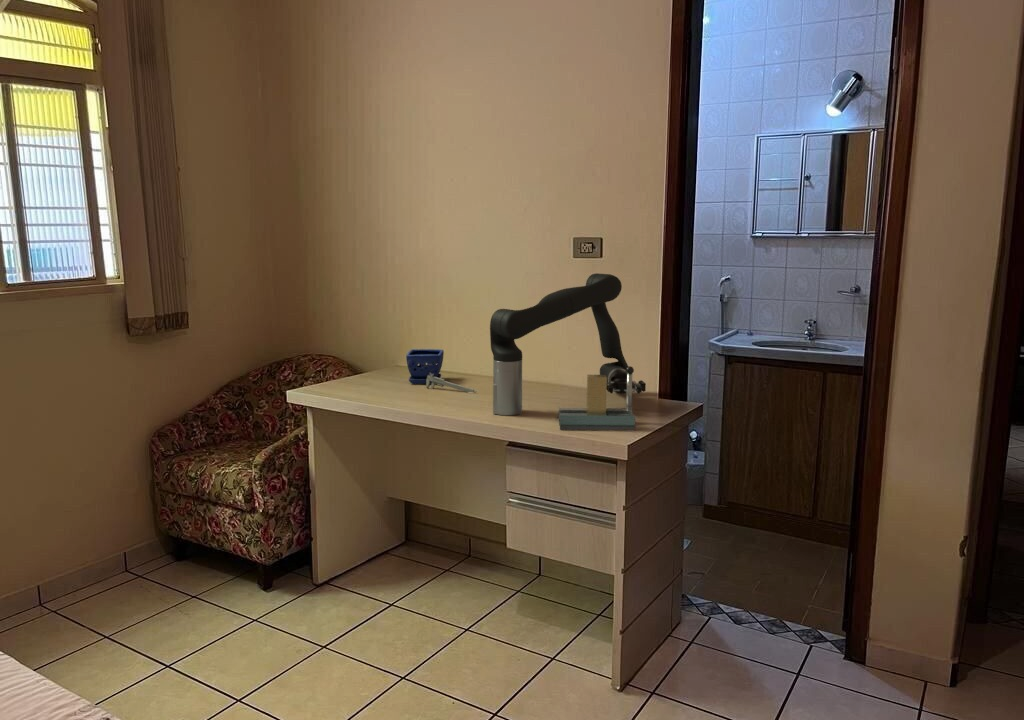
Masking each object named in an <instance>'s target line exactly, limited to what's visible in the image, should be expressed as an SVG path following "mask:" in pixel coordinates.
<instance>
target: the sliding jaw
mask: <svg viewBox="0 0 1024 720" xmlns="http://www.w3.org/2000/svg"><path fill="white" fill-rule="evenodd" d="M626 372H627V393H626V400H625V408H622V407H621V408H619V407H618V408H617V407H616V408H613V407H611V408H607V407H606V413H607V414H633V410H632V405H633V403H632V402H633V400H632V399H633V398H632V397H633V392H632V381H633V373H634V372H635V370H634V367H633V366H631V365H630V366H629V365H628V367H627V368H626ZM586 410H587V407H558V414H559V419H560V413H586Z"/></svg>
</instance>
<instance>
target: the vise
mask: <svg viewBox="0 0 1024 720" xmlns="http://www.w3.org/2000/svg"><path fill="white" fill-rule="evenodd" d="M557 419H559V413H557ZM635 425H636V415H635V413H632V414H607V413H560V419H559V420H558V426H560V427H559V431H598V430H635V431H636V426H635Z"/></svg>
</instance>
